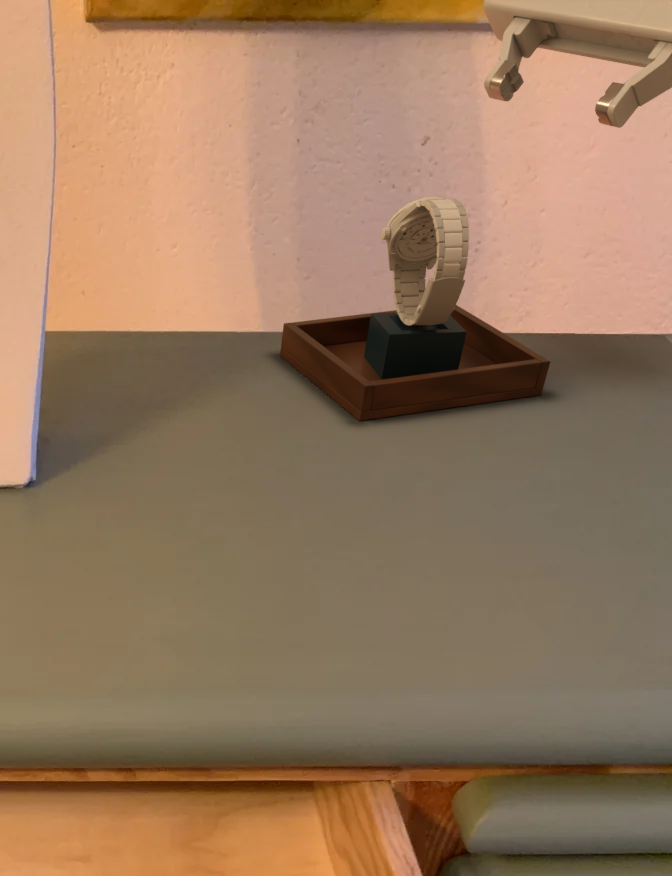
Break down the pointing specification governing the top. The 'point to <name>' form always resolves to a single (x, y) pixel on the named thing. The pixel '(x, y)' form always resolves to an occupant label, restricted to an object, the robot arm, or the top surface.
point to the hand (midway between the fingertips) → (547, 106)
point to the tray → (368, 396)
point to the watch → (422, 291)
